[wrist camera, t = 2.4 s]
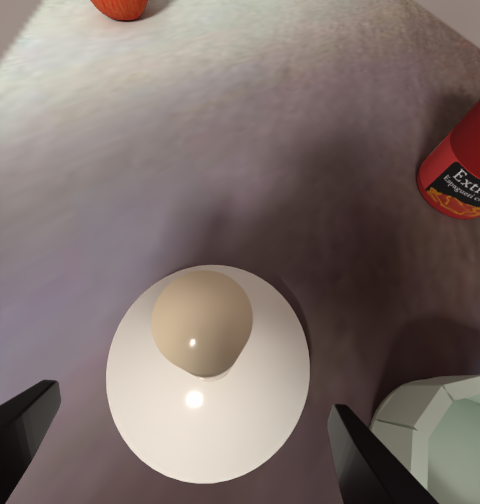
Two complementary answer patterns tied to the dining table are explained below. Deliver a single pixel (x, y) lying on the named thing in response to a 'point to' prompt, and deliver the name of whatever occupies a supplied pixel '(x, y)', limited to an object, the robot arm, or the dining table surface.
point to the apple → (121, 8)
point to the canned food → (455, 170)
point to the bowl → (435, 434)
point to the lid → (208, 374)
